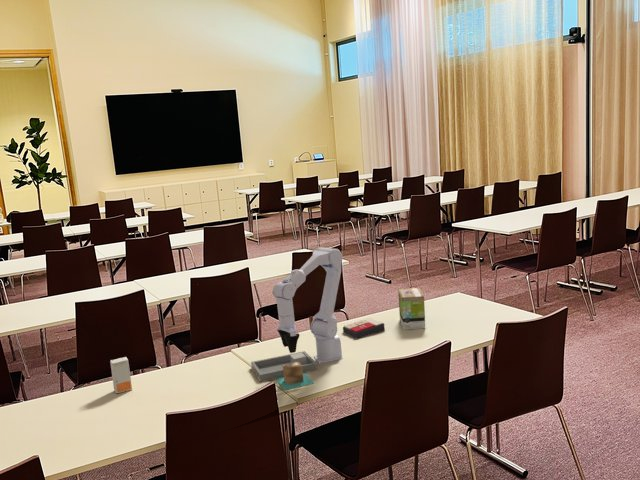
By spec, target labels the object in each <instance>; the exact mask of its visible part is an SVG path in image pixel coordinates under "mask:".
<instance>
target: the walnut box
mask: <svg viewBox="0 0 640 480" xmlns="http://www.w3.org/2000/svg"><path fill="white" fill-rule="evenodd" d="M283 373H284V381H285V382H286V383H287V385H289V384H294V383H299V382H303V381H304V380H303V369H302V365H301V364H300V363H299V362H294V363H290V364H285V365H283Z"/></svg>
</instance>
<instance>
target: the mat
mask: <svg viewBox="0 0 640 480" xmlns="http://www.w3.org/2000/svg"><path fill="white" fill-rule="evenodd" d="M275 380H276V381H277V383H278V384H279V385H280V387H281V388H282V389H283V391H288V390H293V389H297V388H302V387H306V386H311V385H313V384H314V382H313V381H312V379H310V377H309V376H308V375H307V374H306V372H304V373H303V380H304V381H303V382H299V383H294V384H289V385H287V383H286V382H285V381H284V377H280V378H275Z"/></svg>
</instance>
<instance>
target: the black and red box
mask: <svg viewBox="0 0 640 480" xmlns="http://www.w3.org/2000/svg"><path fill="white" fill-rule="evenodd" d="M385 331H386V330H385V323H383V322H381V321H380V320H377V319H374V318H372V317H368V318H366V319H361V320H358V321H356V322H355V321H354V322H352V323H348V324H346V325H344V326H343V327H342V332H343V333H342V334H345V335H347V336H349V335H350V336H349V337H352V338H354V339H361V338H364V337H368V336H371V335H374V334H379V333H382V332H385Z"/></svg>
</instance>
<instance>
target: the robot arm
mask: <svg viewBox="0 0 640 480" xmlns="http://www.w3.org/2000/svg"><path fill="white" fill-rule="evenodd" d="M343 257H344V255H343V254H342V252H341V251H340V250H339V249H338V248H330V247H323V246H319V247H316V249H315V250H314V251H312V255H311V256H310V258H309V259H307V260H306V262H305V263H304V264H303V265H302V266H301V267H300V268H299V269H298V268H297V269H293V270H291V271H290V273H289V274H288V275H287V276H286V277H285V278H283V279H282V281H279V282H277V283H276V284H274V286H273V289H272V291H271V293H272V295H273V296H274V298H275V301H276V304H277V305H276V307H277V313H278V315H277V317H278V324H279V325H278V326H276V331H277V332H278V334H279V336H280V338H281V342H282V345H283V347H284V348H288V351H289V354H293V353H297V352H296V351H297V346H298V345H297V344H298V340H299V338H300V333H298V332H297V331H296V327H297V326H296V324H295V323H296V322H295V314H294V313H295V311H294V302H293V298H294V296H295V295H296V294H295V293H296V291H297V289H299V287H300V286H301V285H302V284H303V283H305V282H306V278H307V276H308V275H309V274H310V273H311V272H313V271H314V270H315V269H316V268H317V267H319V266H321V267H322V268H323V269H324V270H325V272H326V275H325V280H324V281H325V282H324V285H323V291H322V296H321V297H322V298H321V300H320V301H321V302H320V307H319V310H318V312H317V313H315V315H314V316H313V319H312V321H311V323H310V332H311V333H312V334H313V337H314V338H315V345H316V346H315V347H316V355H314V356H313V357H314V360H316V362H318V363H319V364H324V363H327V362H328V363H329V362H334V361H338V360H342V359H343V354H342V353H343V352H342V343H341V339H340V336H339V335H338V334H337V333H338V319H337V318H336V316H335V315H334V311H335V306H336V301H337V295H338V290H339V285H340V280H341V274H342V265H343V263H342V262H343Z"/></svg>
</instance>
